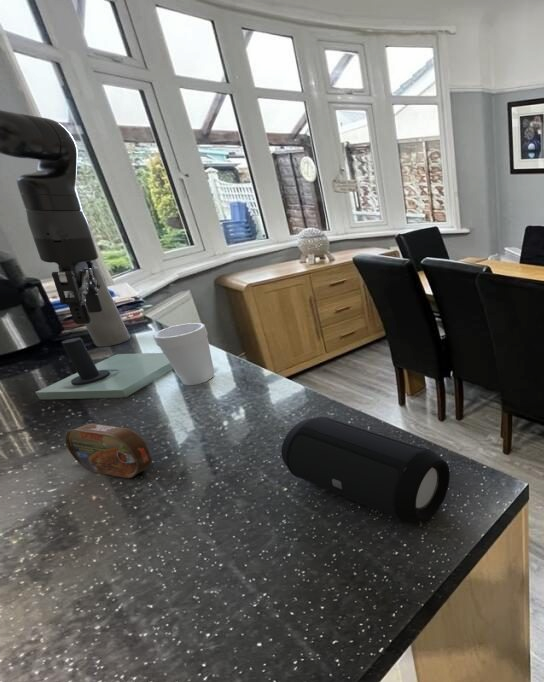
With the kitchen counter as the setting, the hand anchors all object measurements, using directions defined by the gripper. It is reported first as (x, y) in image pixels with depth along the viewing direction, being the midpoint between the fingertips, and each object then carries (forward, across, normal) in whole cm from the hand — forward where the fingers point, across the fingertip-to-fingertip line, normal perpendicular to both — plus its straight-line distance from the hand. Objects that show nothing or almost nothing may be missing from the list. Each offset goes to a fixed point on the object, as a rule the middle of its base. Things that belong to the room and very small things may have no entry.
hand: (89, 317), depth 79 cm
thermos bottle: (+21, -51, -10) cm, 56 cm away
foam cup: (+19, -4, +14) cm, 24 cm away
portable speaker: (+16, +58, +39) cm, 72 cm away
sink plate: (+20, -17, -2) cm, 27 cm away
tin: (+20, +28, +5) cm, 35 cm away
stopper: (+21, -16, -7) cm, 27 cm away
